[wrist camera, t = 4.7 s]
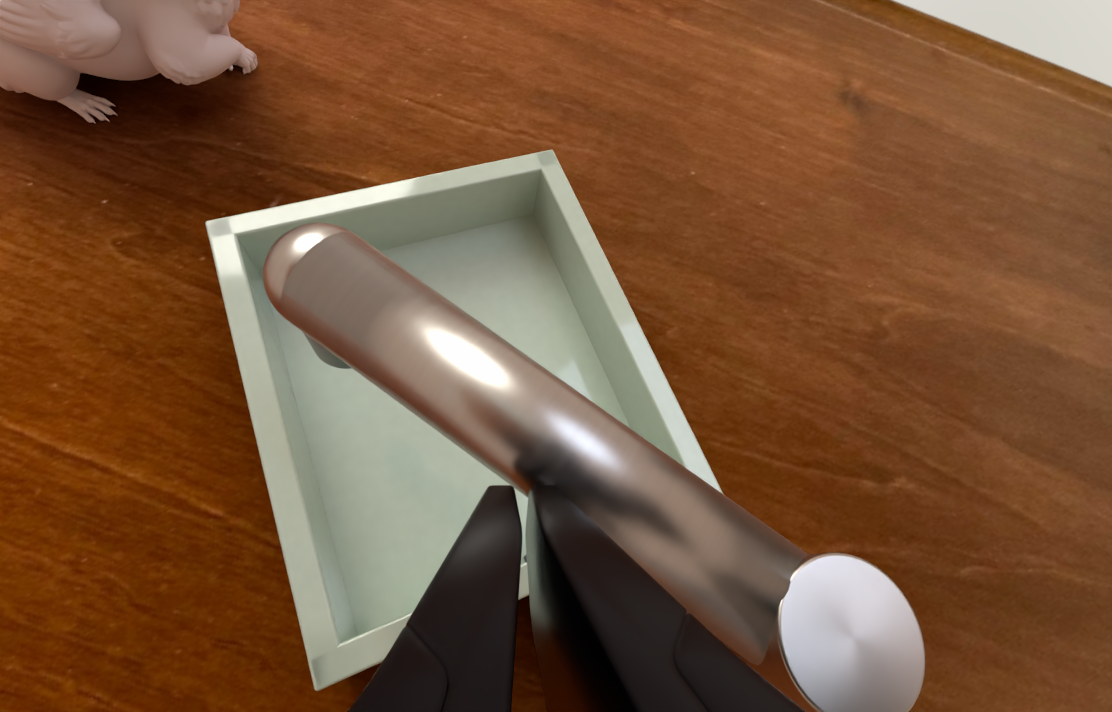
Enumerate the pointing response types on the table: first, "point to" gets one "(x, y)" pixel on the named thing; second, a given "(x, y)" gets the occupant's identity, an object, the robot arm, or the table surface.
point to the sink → (391, 429)
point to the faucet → (605, 477)
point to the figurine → (113, 45)
